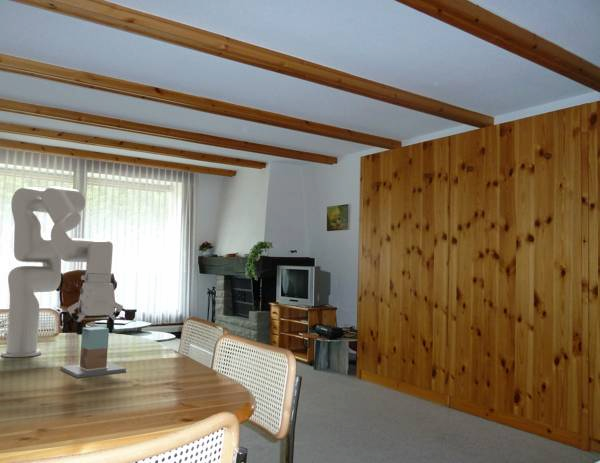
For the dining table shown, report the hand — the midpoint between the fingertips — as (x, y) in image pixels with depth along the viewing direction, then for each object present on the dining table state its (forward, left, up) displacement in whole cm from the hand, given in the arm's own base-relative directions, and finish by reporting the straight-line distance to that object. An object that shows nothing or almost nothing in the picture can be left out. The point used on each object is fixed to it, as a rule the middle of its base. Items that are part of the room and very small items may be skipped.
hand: (94, 333), depth 163 cm
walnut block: (0, 0, -10) cm, 10 cm away
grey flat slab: (0, 0, -12) cm, 12 cm away
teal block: (0, 0, -4) cm, 4 cm away
